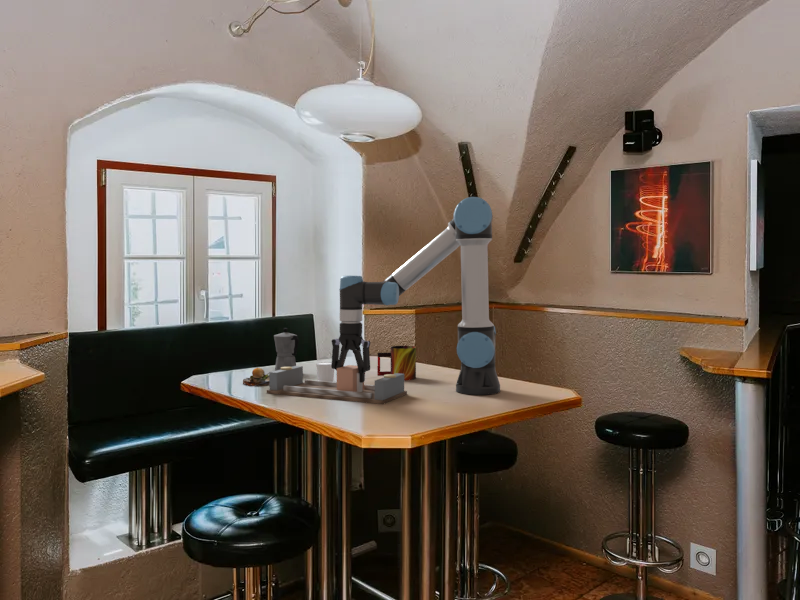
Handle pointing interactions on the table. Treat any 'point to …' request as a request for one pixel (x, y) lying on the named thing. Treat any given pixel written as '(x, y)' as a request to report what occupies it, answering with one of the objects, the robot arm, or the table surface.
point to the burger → (257, 378)
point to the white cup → (325, 371)
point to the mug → (400, 361)
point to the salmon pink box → (347, 378)
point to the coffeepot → (285, 349)
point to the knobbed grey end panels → (294, 376)
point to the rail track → (332, 392)
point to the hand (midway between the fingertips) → (350, 390)
